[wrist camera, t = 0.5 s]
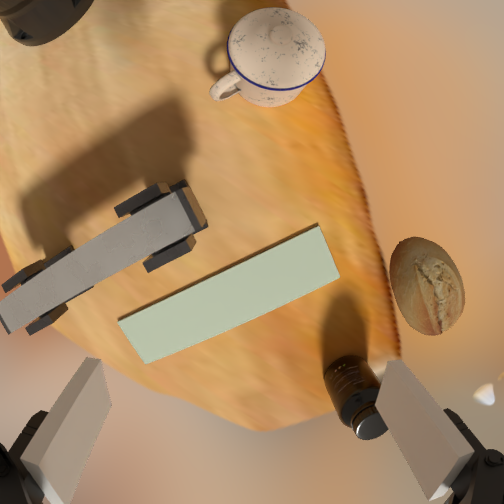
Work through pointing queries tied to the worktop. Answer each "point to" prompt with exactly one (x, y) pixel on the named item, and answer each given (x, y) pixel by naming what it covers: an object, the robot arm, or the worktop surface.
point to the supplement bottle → (355, 396)
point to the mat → (232, 297)
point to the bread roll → (426, 285)
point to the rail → (104, 257)
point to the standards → (125, 208)
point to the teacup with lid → (271, 57)
